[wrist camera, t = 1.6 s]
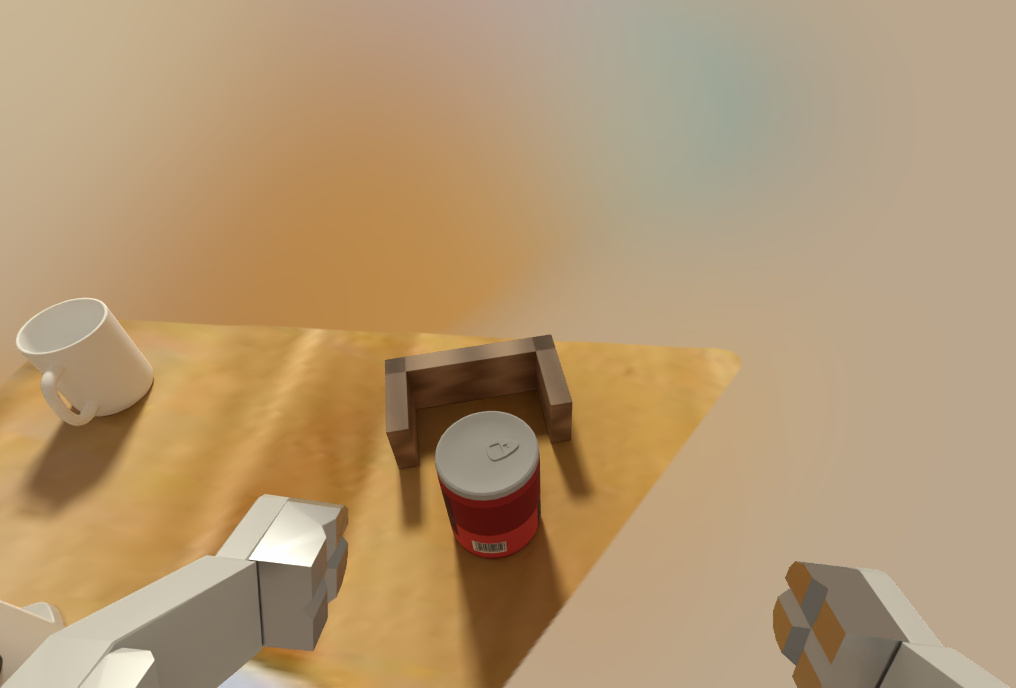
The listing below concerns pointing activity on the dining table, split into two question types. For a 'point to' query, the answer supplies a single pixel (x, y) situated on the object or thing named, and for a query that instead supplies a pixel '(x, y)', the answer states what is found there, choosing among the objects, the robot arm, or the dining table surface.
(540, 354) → the corral
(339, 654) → the dining table surface
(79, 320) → the cup
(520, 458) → the canned food
